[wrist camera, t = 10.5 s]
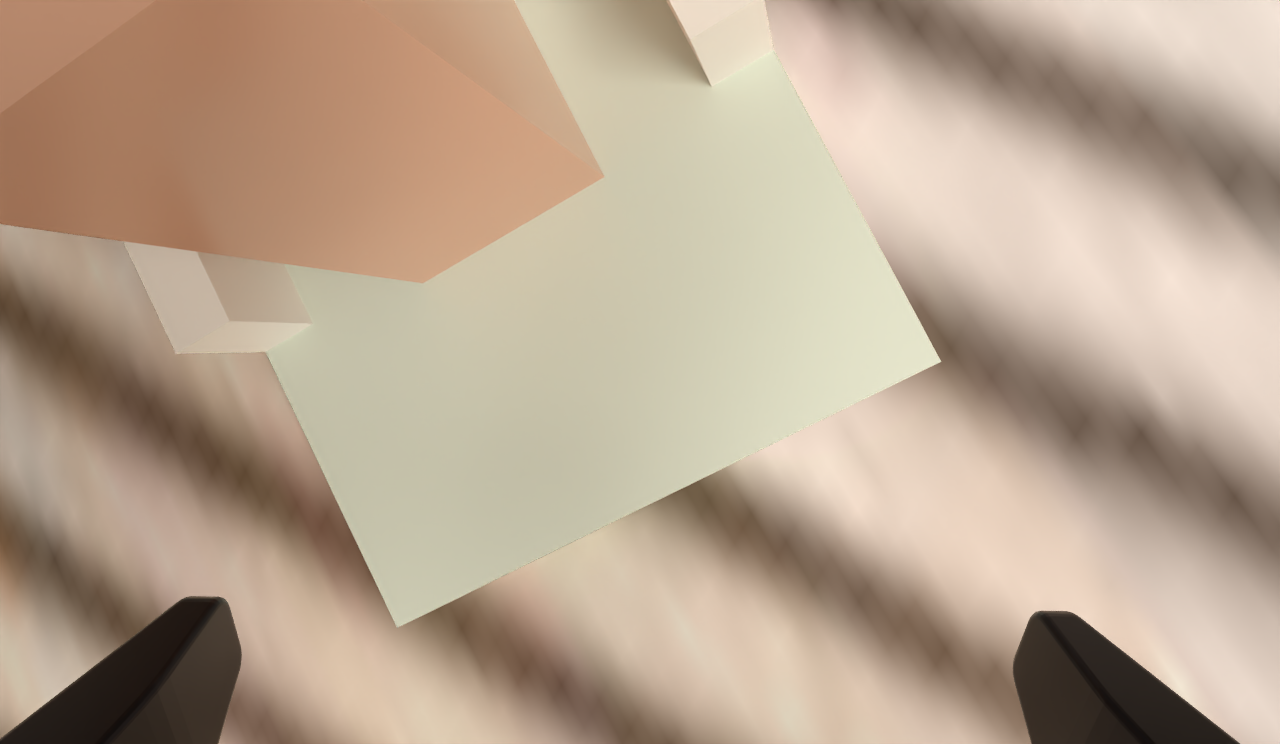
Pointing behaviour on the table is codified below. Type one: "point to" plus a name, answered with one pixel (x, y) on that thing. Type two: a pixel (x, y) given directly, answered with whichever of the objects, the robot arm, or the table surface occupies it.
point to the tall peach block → (284, 128)
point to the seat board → (580, 313)
